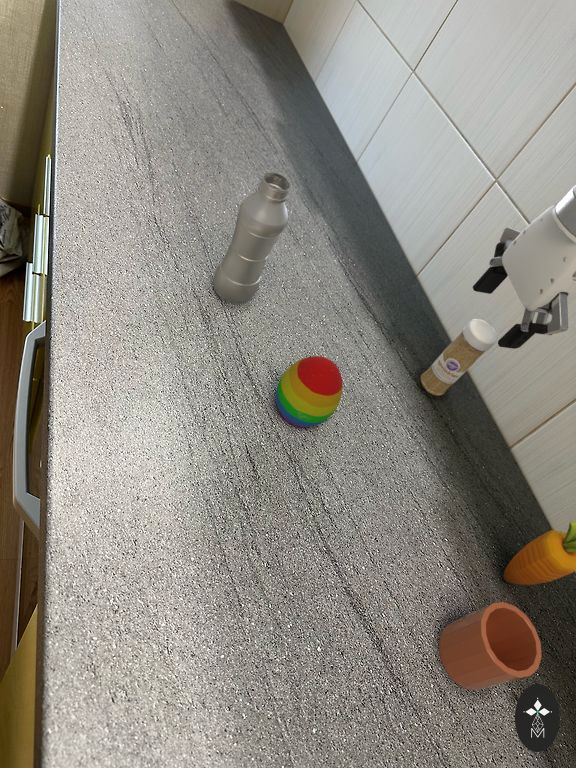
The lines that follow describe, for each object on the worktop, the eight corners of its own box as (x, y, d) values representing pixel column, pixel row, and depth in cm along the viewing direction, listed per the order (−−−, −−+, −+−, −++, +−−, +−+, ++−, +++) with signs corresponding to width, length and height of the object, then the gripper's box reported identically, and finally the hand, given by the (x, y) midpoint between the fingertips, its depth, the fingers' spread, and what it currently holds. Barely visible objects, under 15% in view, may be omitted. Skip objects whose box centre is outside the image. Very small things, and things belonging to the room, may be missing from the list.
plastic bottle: (205, 275, 85) (244, 160, 70) (247, 277, 88) (293, 167, 73) (214, 308, 82) (258, 195, 67) (258, 309, 85) (308, 201, 70)
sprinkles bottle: (417, 387, 88) (468, 332, 77) (422, 368, 91) (472, 312, 80) (442, 402, 88) (497, 348, 78) (447, 382, 91) (500, 328, 81)
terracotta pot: (480, 618, 68) (524, 599, 62) (502, 685, 64) (552, 672, 58) (430, 624, 66) (471, 604, 60) (450, 694, 62) (496, 681, 56)
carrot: (481, 564, 73) (565, 518, 62) (508, 555, 75) (593, 509, 64) (501, 603, 71) (591, 563, 59) (528, 593, 73) (620, 552, 62)
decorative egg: (301, 446, 73) (333, 404, 66) (256, 403, 75) (282, 357, 67) (336, 414, 79) (369, 372, 71) (294, 374, 80) (322, 329, 73)
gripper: (649, 280, 61) (539, 372, 74) (579, 178, 71) (492, 275, 83) (599, 269, 58) (494, 367, 71) (533, 164, 68) (450, 267, 81)
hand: (493, 317), depth 77 cm, fingers open, 9 cm apart
